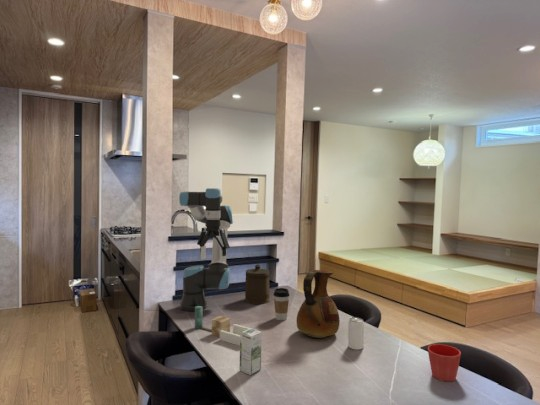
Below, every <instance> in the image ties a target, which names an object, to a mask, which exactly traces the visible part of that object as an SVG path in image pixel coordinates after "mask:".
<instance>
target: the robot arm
mask: <svg viewBox="0 0 540 405" xmlns="http://www.w3.org/2000/svg"><path fill="white" fill-rule="evenodd" d="M178 201H179V205H180V206H181V207H183V206H184V207H187V208H188V209H189V210H190V214H191V217H192V218H193V219H194V220H196V221H197V222H200V223H201V224H202V223H203V224H204V225H205V226H204V227H202V228H201V231H200V235H199V238H198V240H197V242H196V245H198V246H199V248H200V249H199V252H200V260H206V259H207V258H206V257H207V254H206V252H207V250H206V244H207V243H208V241H209V240H210V238H212V250H211V262H210V263H209V264H208V267H207V268H205V266H204V265H201V264H200V265H192V266H188V267H186V268H184V270H183V273H182V297H181V300H180V303H179V308H180V310H182V311H186V312H195V307H196V306H202V307H203V310H204V309H207V307H208V302H207V300H206V297H205V296H206V295H205V290H225V289H228V288H229V285H230V281H231V273H232V272H231V271H232V269H231V268H230V267H229V264H228V263H227V254H228V249H229V248H230V244H229V241H228V230H229V229H230V228H231V225H232V224H233V223H234V222H233V213H232V207H231V206H230V205H222V202H223V195H222V193H221V189H220V188H215V187H213V188H211V187H210V188H205V191H181V192H180V193H179V200H178Z"/></svg>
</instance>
